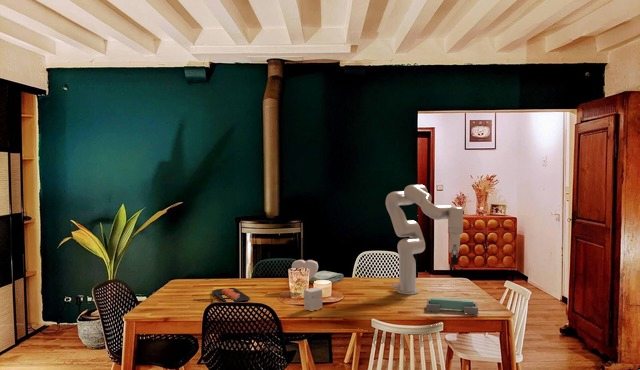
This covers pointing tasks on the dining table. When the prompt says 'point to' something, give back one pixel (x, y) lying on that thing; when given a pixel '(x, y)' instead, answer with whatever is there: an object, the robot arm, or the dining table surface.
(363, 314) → the dining table surface
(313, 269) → the heart sculpture
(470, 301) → the slat
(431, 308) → the end caps
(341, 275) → the towel
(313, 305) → the small box
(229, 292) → the sushi plate
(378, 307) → the dining table surface
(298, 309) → the dining table surface
